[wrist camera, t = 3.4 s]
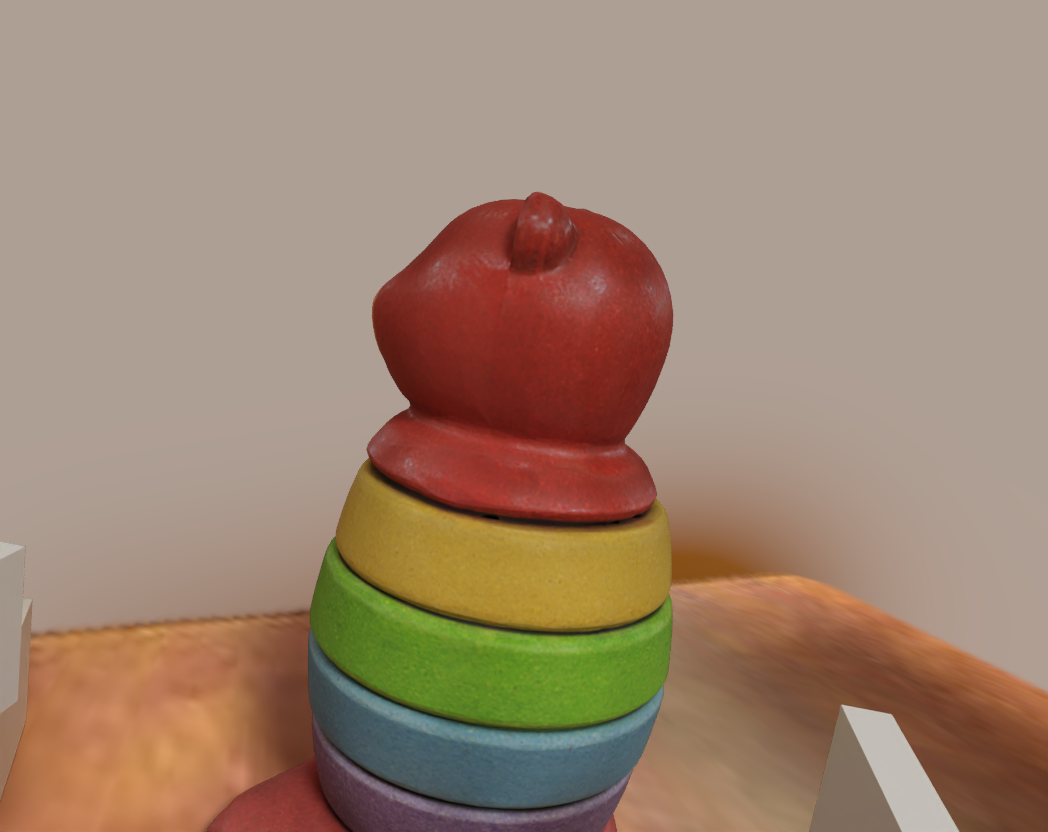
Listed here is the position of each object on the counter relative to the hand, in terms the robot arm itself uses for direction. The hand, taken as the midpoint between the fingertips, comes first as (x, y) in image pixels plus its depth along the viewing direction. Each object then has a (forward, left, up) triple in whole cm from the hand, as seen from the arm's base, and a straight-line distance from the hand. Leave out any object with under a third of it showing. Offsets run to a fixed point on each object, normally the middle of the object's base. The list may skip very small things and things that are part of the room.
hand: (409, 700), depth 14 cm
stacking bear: (-4, -9, -10) cm, 14 cm away
